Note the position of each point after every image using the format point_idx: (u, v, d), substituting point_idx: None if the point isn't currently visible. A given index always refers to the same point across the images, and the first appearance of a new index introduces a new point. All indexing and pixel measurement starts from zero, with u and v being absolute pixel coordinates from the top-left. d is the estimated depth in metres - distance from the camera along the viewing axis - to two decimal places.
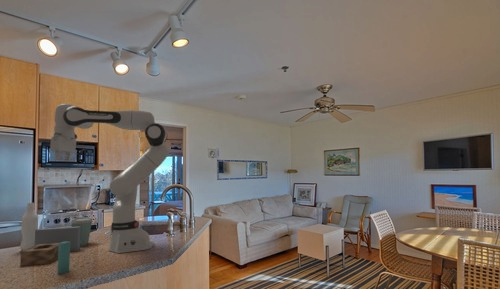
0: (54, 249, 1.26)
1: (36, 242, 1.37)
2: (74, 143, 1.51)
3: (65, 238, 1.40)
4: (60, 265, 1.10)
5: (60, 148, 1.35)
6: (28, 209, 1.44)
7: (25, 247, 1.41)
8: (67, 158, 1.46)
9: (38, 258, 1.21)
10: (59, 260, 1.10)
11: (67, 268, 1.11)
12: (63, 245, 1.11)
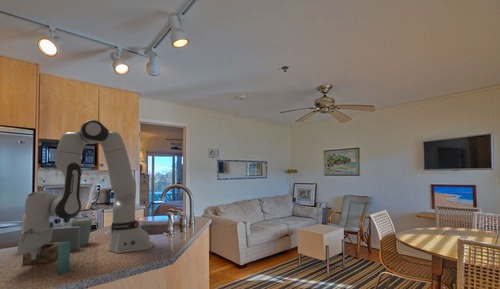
0: (56, 248, 1.27)
1: None
2: (50, 232, 1.29)
3: (65, 238, 1.40)
4: (60, 265, 1.10)
5: (30, 250, 1.14)
6: None
7: None
8: None
9: (40, 257, 1.23)
10: (59, 260, 1.10)
11: (67, 268, 1.11)
12: (63, 245, 1.11)
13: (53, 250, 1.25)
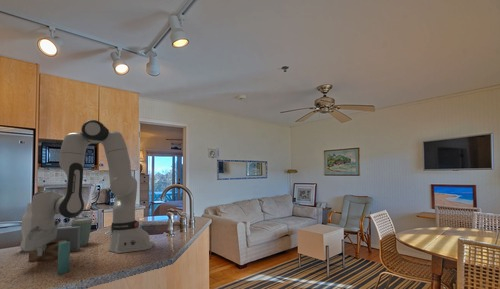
0: None
1: None
2: (55, 230, 1.34)
3: (65, 238, 1.40)
4: (60, 265, 1.10)
5: (37, 246, 1.19)
6: (28, 209, 1.44)
7: None
8: None
9: (46, 254, 1.27)
10: (59, 260, 1.10)
11: (67, 268, 1.11)
12: (63, 245, 1.11)
13: (58, 247, 1.29)
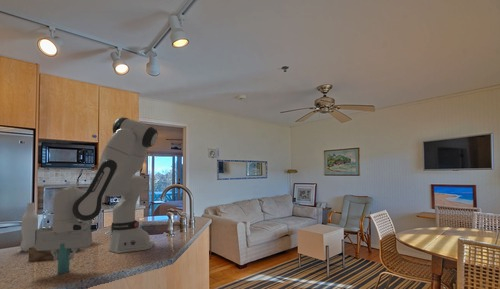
0: None
1: None
2: (83, 235, 1.12)
3: None
4: (60, 265, 1.10)
5: (42, 248, 1.09)
6: (28, 209, 1.44)
7: (25, 247, 1.41)
8: None
9: (46, 254, 1.27)
10: (59, 260, 1.10)
11: (67, 268, 1.11)
12: (63, 245, 1.11)
13: None
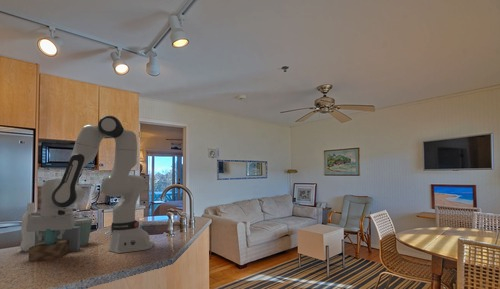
0: (60, 245, 1.32)
1: (36, 242, 1.37)
2: (66, 219, 1.34)
3: (65, 238, 1.40)
4: None
5: (31, 229, 1.31)
6: (28, 209, 1.44)
7: (25, 247, 1.41)
8: None
9: (46, 254, 1.27)
10: (46, 242, 1.31)
11: None
12: (49, 230, 1.32)
13: (58, 247, 1.29)
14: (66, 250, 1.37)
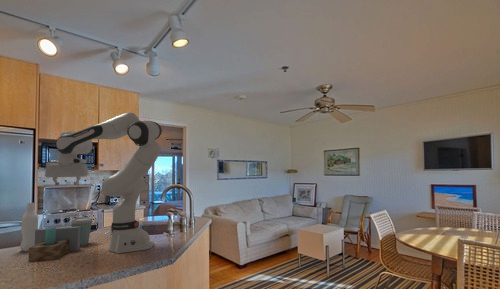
0: (60, 245, 1.32)
1: (36, 242, 1.37)
2: (81, 167, 1.49)
3: (65, 238, 1.40)
4: None
5: (50, 175, 1.46)
6: (28, 209, 1.44)
7: (25, 247, 1.41)
8: None
9: (46, 254, 1.27)
10: (46, 242, 1.31)
11: None
12: (49, 230, 1.32)
13: (58, 247, 1.29)
14: (66, 250, 1.37)
